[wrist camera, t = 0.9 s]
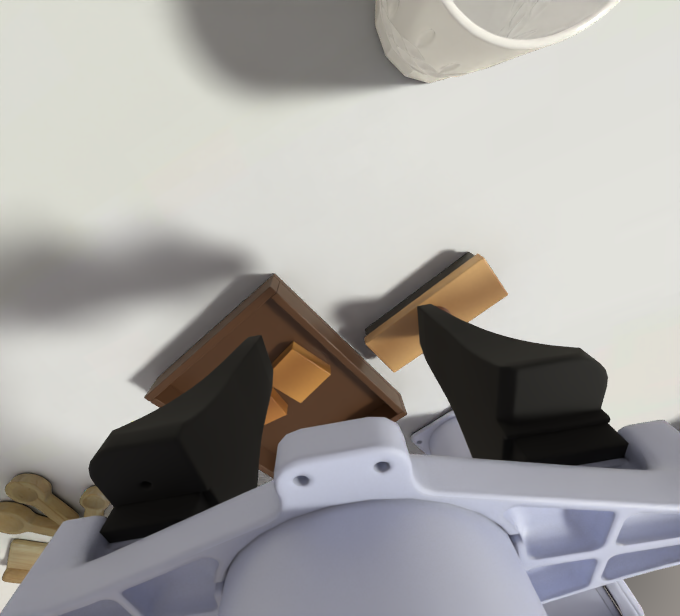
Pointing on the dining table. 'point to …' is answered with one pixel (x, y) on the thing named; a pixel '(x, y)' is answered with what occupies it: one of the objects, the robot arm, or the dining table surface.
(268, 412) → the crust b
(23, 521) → the toy baking set
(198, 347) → the tray
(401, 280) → the dining table surface
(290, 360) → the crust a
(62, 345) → the dining table surface
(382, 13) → the white cup
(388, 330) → the wooden stamp
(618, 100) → the dining table surface
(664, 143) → the dining table surface
